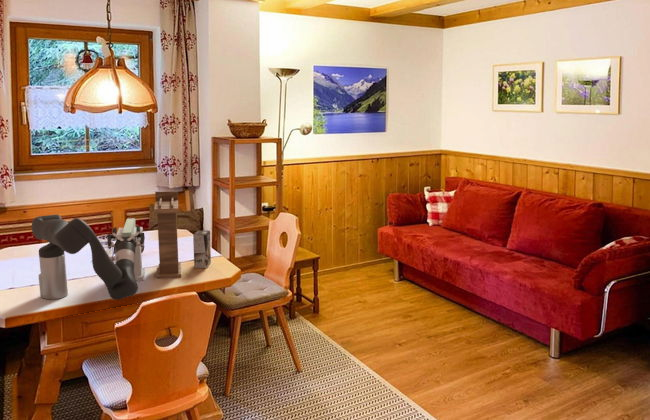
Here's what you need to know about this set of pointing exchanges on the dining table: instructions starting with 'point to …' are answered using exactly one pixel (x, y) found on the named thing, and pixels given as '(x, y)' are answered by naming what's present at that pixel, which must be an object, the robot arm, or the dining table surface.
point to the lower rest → (136, 257)
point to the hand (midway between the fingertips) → (126, 227)
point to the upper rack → (167, 234)
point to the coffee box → (202, 249)
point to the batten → (129, 227)
